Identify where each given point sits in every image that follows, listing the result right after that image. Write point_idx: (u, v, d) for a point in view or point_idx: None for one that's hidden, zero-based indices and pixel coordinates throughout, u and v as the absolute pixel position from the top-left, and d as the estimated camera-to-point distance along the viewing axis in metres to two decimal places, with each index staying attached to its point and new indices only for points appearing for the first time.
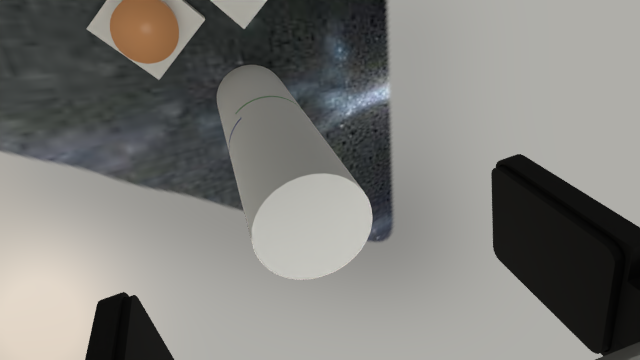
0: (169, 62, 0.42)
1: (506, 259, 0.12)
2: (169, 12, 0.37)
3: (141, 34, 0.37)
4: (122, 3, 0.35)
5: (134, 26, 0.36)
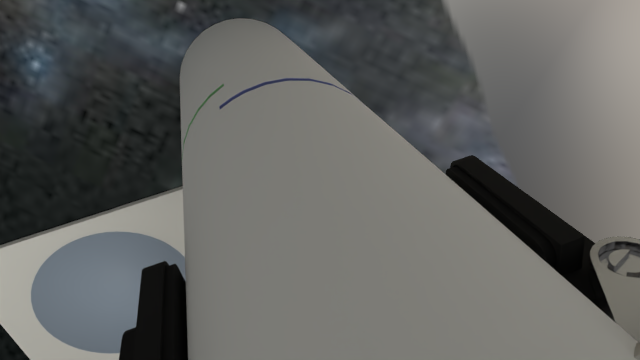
0: None
1: None
2: None
3: None
4: None
5: None
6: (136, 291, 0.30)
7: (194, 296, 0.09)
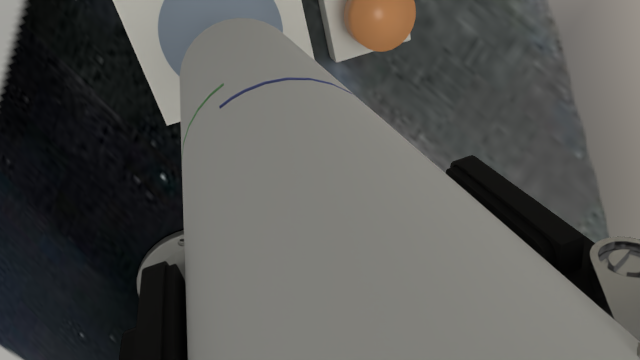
0: None
1: None
2: (353, 17, 0.34)
3: (389, 16, 0.35)
4: (380, 50, 0.36)
5: (388, 26, 0.35)
6: None
7: (194, 296, 0.09)
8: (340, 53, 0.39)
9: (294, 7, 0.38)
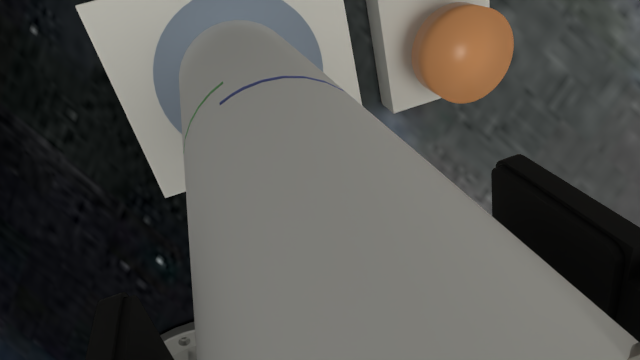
0: None
1: None
2: (430, 58, 0.24)
3: (478, 56, 0.25)
4: (462, 101, 0.26)
5: (475, 70, 0.25)
6: None
7: (200, 272, 0.09)
8: (399, 101, 0.29)
9: (339, 41, 0.28)
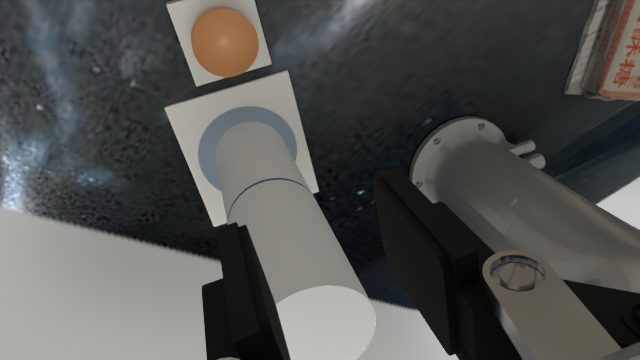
0: (177, 27, 0.38)
1: (393, 266, 0.13)
2: (227, 75, 0.37)
3: (225, 39, 0.36)
4: (257, 44, 0.37)
5: (235, 38, 0.36)
6: None
7: None
8: (263, 60, 0.41)
9: (224, 97, 0.43)
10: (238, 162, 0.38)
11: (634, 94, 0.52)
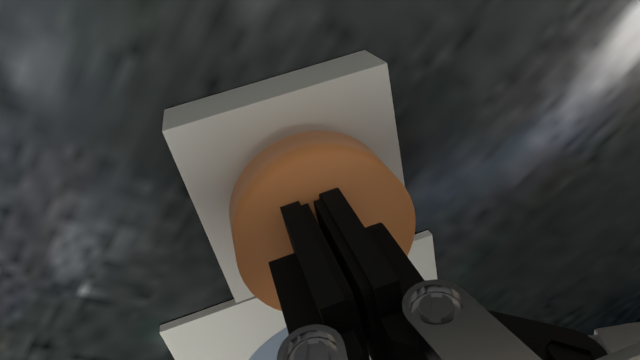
0: (192, 184, 0.14)
1: None
2: None
3: None
4: (411, 234, 0.13)
5: None
6: None
7: None
8: None
9: None
10: None
11: None
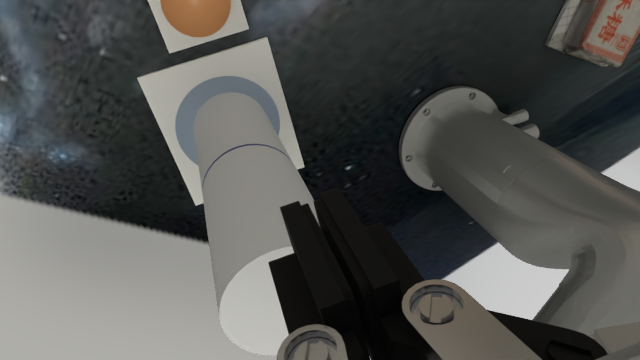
0: None
1: None
2: (199, 35, 0.36)
3: None
4: (229, 2, 0.35)
5: None
6: None
7: None
8: (239, 25, 0.39)
9: (200, 66, 0.41)
10: (214, 130, 0.36)
11: (616, 57, 0.49)
